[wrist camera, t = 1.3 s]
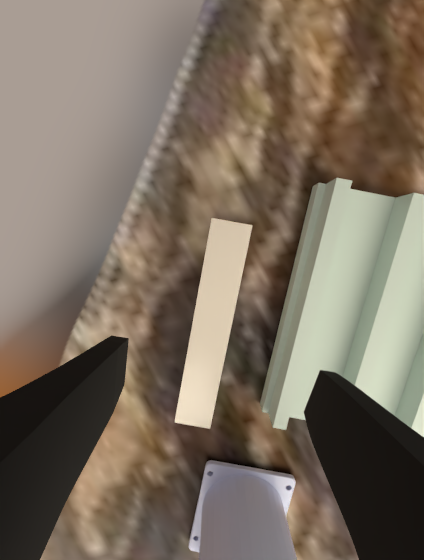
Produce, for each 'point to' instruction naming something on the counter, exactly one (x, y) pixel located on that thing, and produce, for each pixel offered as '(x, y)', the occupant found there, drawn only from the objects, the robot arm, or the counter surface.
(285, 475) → the robot arm
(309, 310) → the ridged mint rail
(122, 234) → the counter surface
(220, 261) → the clay strip
